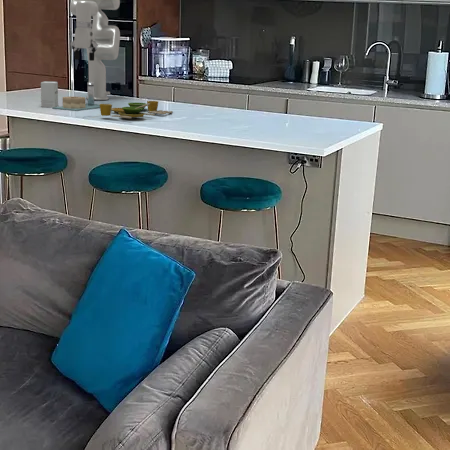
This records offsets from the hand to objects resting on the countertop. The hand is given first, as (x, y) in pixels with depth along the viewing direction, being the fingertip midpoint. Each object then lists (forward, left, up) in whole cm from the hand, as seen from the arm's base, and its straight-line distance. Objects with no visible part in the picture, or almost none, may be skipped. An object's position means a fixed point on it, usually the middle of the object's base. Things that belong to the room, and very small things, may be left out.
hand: (84, 59), depth 381 cm
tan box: (+12, +2, -24) cm, 26 cm away
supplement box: (+13, -13, -24) cm, 30 cm away
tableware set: (+5, +33, -25) cm, 41 cm away
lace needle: (-2, +2, -24) cm, 24 cm away
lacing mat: (+5, +2, -24) cm, 25 cm away
